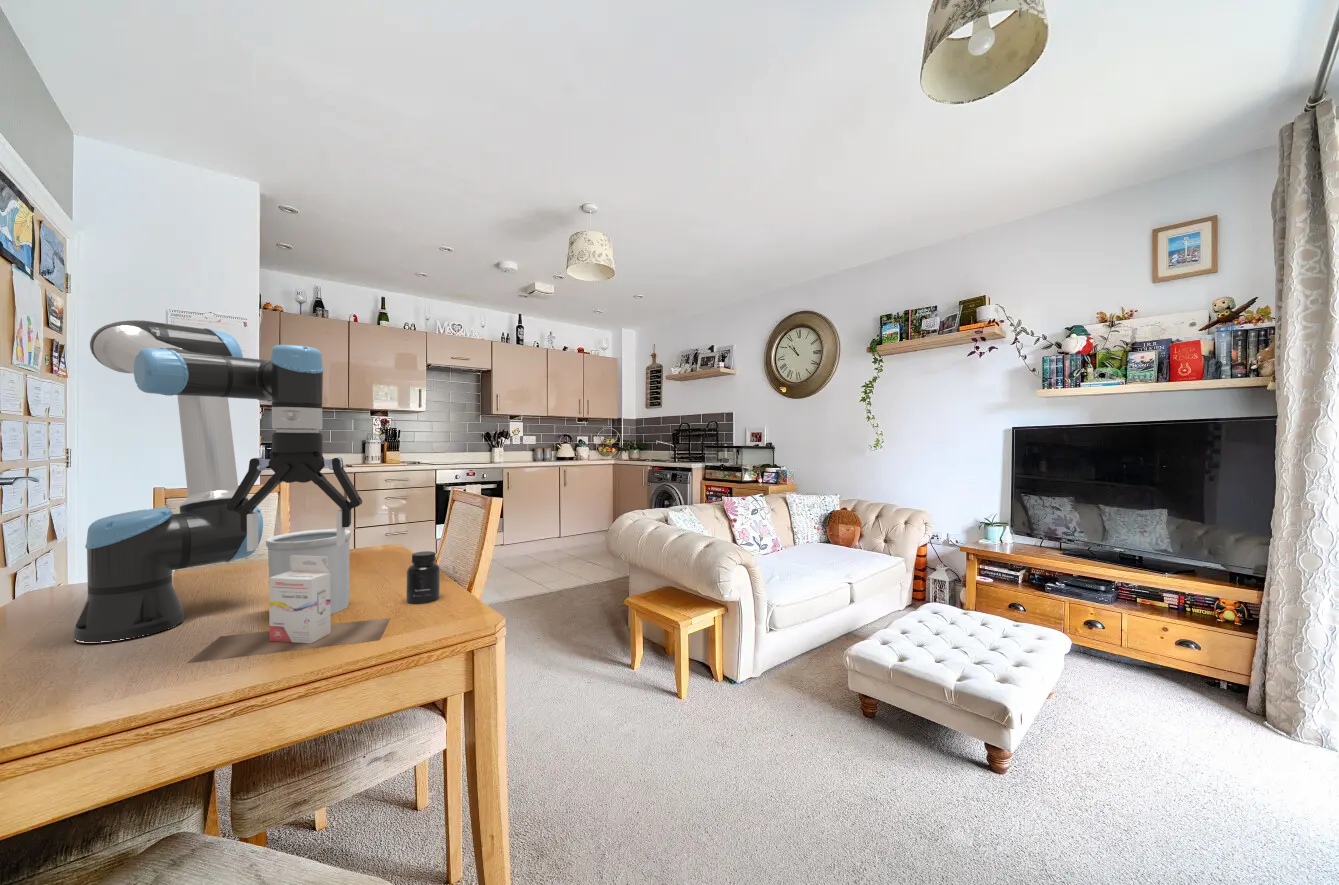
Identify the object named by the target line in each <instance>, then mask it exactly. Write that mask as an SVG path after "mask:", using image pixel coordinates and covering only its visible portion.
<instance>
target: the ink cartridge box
mask: <svg viewBox="0 0 1339 885" xmlns="http://www.w3.org/2000/svg"><path fill="white" fill-rule="evenodd" d="M308 560H310V561H311V562H316V565H304V564H303V562H307V561H308ZM290 567H291V571H288V572H285V573H282V574H279V575H276V576H273V577H270V578H269V577H268V584H269V585H268V587H269V589H268V591H269V592H268V593H269V594H268V595H269V597H268V599H269V601H268V602H269V603H268V604H269V606H268V607H269V608H268V609H269V614H268V615H269V616H268V618H269V619H268V620H269V622H268V624H269V626H268V628H269V630H268V631H269V640H270V641H277V642H293V643H313V642H315V641H317V640H319V639H321V638H323V637H325V636H327V635H328V634H330V633H331V624H332V623H331V618H332V617H331V615H332V614H331V602H330V601H331V596H330V571H329V558H328V557H326V556H303V555H302V556H297V555H291V556H290Z"/></svg>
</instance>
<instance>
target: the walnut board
mask: <svg viewBox="0 0 1339 885" xmlns="http://www.w3.org/2000/svg"><path fill="white" fill-rule="evenodd" d="M390 621H391V617H386V618H376V619H368V620H359V621H349V622H342V623H331V633H330V634H328V635H327V636H325V637H323V638H321V639H319V640H317V641H315V642H313V643H293V642H277V641H270V640H269V630H268V631H265V630H264V631H257V632H246V633H238V634H228V635H221V636H219V637H218V638H216V639H215V640H214V641H212V642H211V643H210V644H209V645H208V646H206V647H205V648H203V649H202V650H201V651H199V652H198V653H197V654H196V655H195V656H194V657H192V658H191V659H188V661H186V664H192V663H193V664H194V663H199V662H200V663H201V662H208V661H218V660H226V659H234V658H242V657H251V656H259V655H268V654H275V653H284V652H285V653H286V652H292V651H293V652H294V651H300V650H309V649H317V648H325V647H333V646H340V645H341V646H342V645H343V646H344V645H350V644H359V643H360V644H361V643H367V642H375V641H376V642H377V641H381V639H382V636H383V635H384V632H385V631H386V629H387V626H388V625H389V623H390Z"/></svg>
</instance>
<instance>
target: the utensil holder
mask: <svg viewBox="0 0 1339 885" xmlns="http://www.w3.org/2000/svg"><path fill="white" fill-rule="evenodd" d="M350 539H351V530H349V529H345V544H343V545H342V546H337V528H329V529H328V528H327V529H326V528H325V529H324V528H323V529H312V530H311V529H310V530H303V531H295V532H288V533H283V534H279V535H274V536H270V537H268V538H266V540H265V545H266V548H267V556H268V558H267V559H268V579H269V578H270V577H273V576H276V575H279V574H282V573H285V572H288V571H291V567H290V556H291V555H297V556H302V555H303V556H326V557H328V558H329V571H330V596H331V601H330V602H331V615H333V614H336V613H338V612H341V611H343V610H345V609H346V608H348V607H349V605H350V594H351V593H350V592H351V591H350V590H351V589H350ZM303 564H304V565H316V562H311V561H310V560H308V561H307V562H303Z"/></svg>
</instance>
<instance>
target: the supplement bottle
mask: <svg viewBox="0 0 1339 885" xmlns="http://www.w3.org/2000/svg"><path fill="white" fill-rule="evenodd" d="M435 561H436V552H435V551H429V550H428V551H426V550H425V551H417V552H414V553H412V554H411V563H412V564H411V565H409V566H408V567H407V570H406V603H407V604H410V605H424V604H425V605H426V604H429V603H433V602H436V601H438V600H439V599H440V593H441V592H440V587H441V584H440V582H441V580H440V579H441V577H440V576H441V575H440V574H441V568H440V565H439V564H437V563H436V562H435Z"/></svg>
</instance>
